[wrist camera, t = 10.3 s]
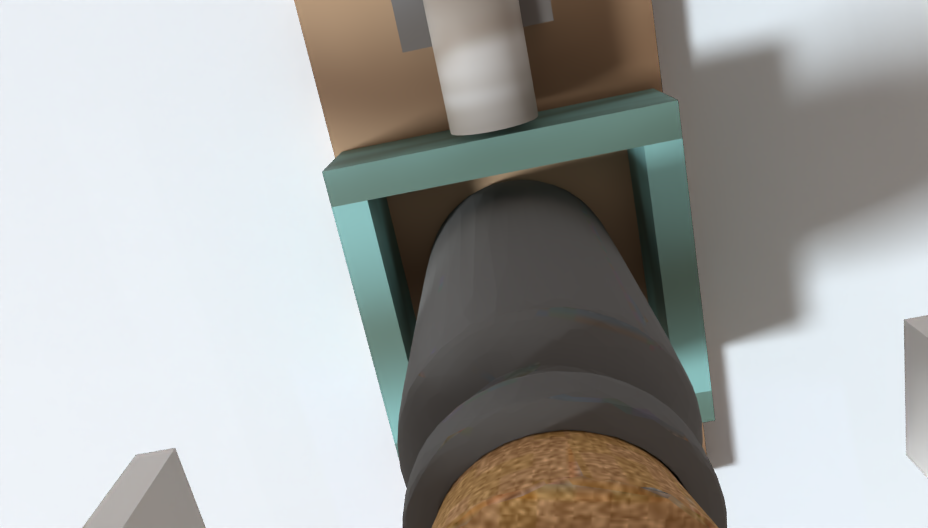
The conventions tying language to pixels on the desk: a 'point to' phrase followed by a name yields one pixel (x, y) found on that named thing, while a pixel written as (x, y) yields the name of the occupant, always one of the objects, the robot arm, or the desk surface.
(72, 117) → the desk surface
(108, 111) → the desk surface
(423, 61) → the block
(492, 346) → the bottle
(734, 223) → the desk surface
